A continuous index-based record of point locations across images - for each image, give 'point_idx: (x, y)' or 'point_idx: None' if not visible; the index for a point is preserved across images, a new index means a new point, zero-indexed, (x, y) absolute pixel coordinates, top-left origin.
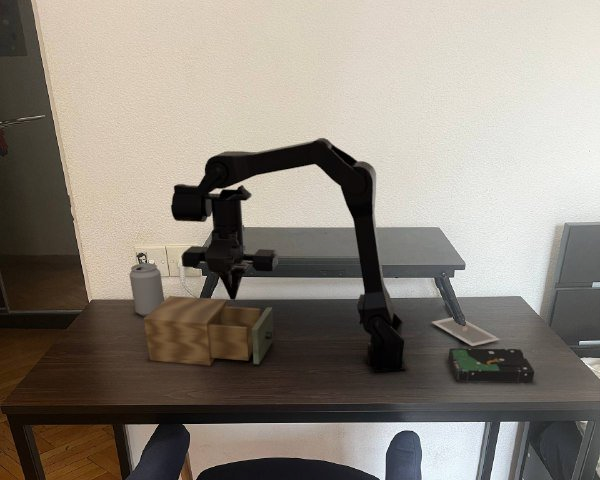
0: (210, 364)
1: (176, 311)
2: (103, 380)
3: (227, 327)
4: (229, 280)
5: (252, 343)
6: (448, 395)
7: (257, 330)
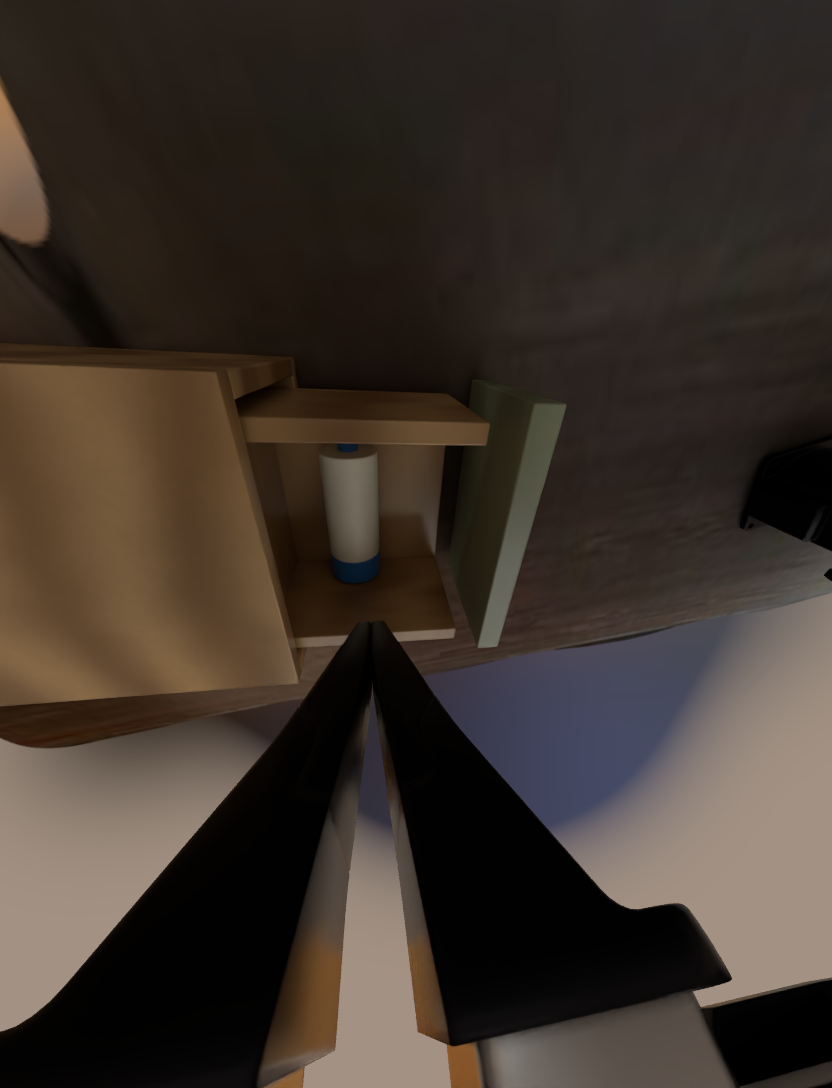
0: None
1: (48, 624)
2: None
3: None
4: (355, 798)
5: (426, 473)
6: (823, 578)
7: (497, 643)
